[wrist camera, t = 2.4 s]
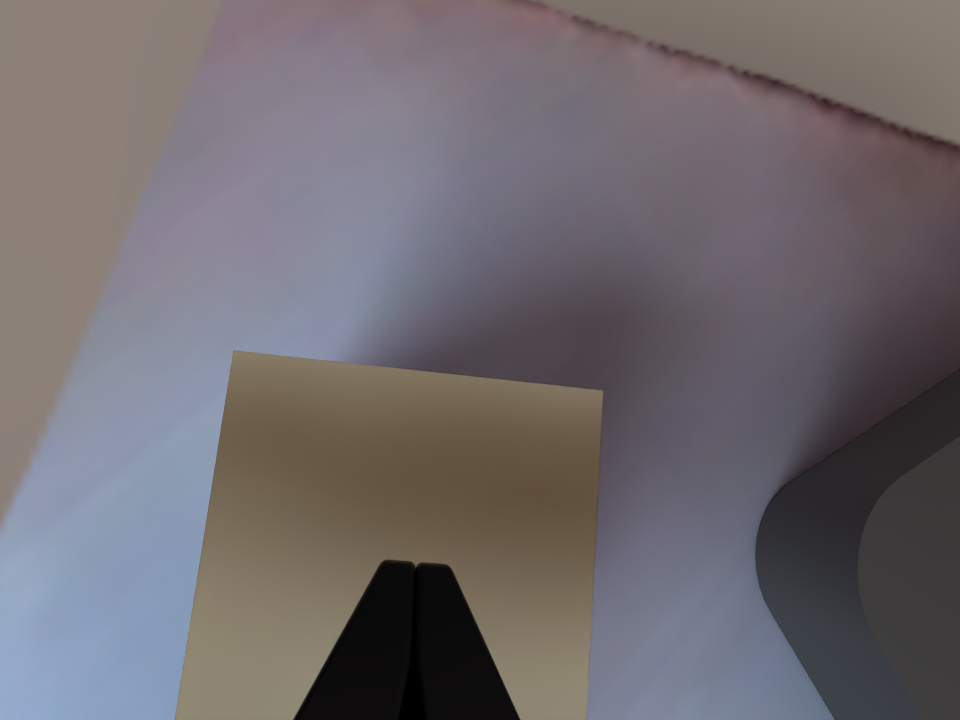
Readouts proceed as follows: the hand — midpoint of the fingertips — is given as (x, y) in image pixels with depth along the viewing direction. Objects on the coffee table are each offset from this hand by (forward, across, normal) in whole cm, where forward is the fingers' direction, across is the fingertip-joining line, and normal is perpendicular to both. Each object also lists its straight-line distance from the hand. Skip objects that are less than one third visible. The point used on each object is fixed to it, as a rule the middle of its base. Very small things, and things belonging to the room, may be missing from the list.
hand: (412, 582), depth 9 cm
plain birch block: (+9, 0, +9) cm, 12 cm away
